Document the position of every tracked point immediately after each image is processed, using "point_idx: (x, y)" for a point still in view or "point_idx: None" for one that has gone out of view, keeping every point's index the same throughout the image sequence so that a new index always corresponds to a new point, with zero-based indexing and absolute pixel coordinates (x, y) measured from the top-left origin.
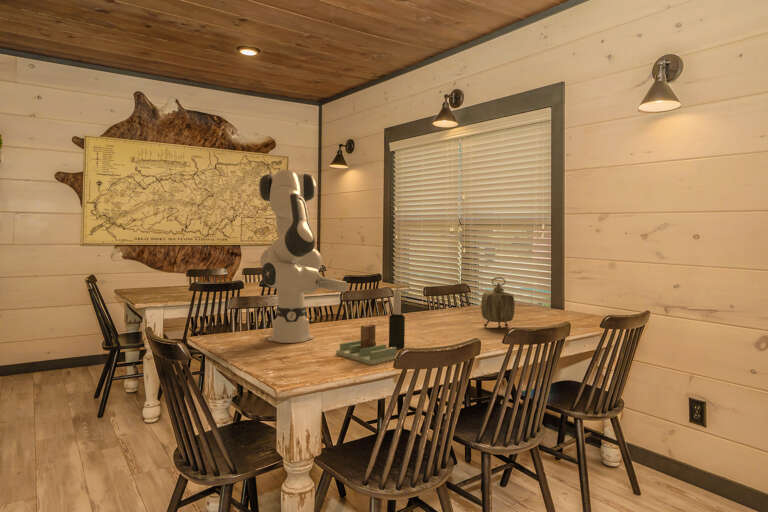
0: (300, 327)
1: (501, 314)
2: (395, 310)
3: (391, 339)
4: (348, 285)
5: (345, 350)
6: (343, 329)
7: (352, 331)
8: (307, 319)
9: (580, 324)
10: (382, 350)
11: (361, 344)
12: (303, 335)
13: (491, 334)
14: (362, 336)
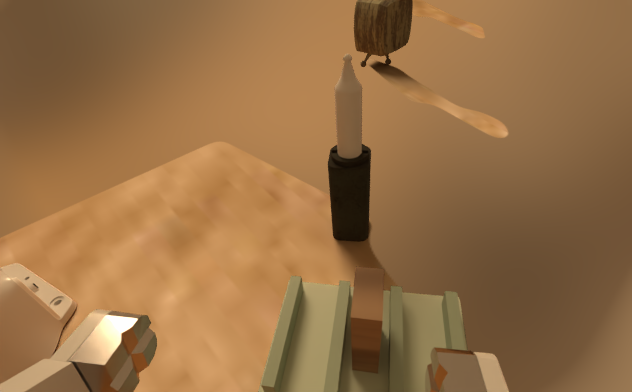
0: (4, 335)
1: (397, 38)
2: (352, 146)
3: (346, 223)
4: (494, 368)
5: (286, 383)
6: (123, 187)
7: (155, 187)
8: (11, 281)
9: (444, 20)
10: None
11: (357, 356)
12: (37, 340)
13: (407, 84)
14: (363, 341)
